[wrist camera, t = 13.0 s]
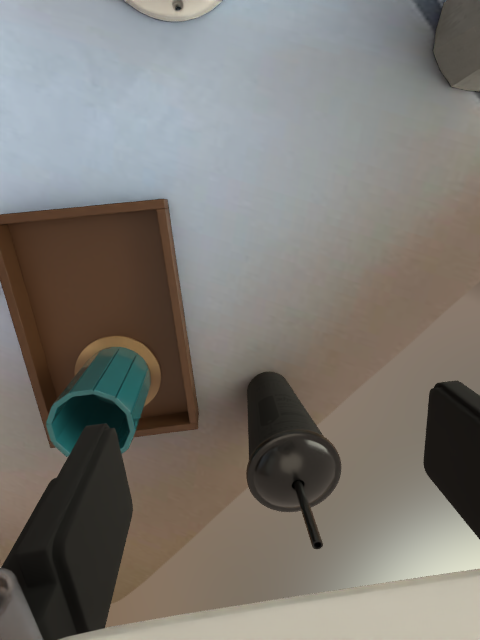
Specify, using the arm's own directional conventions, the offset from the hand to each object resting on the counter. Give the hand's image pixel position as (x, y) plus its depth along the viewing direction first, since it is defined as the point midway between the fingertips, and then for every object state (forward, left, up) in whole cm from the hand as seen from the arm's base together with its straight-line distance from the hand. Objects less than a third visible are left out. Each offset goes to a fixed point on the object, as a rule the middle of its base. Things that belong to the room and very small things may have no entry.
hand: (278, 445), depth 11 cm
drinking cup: (+14, +3, -28) cm, 32 cm away
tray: (+4, -13, -28) cm, 31 cm away
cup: (+10, -13, -27) cm, 32 cm away
